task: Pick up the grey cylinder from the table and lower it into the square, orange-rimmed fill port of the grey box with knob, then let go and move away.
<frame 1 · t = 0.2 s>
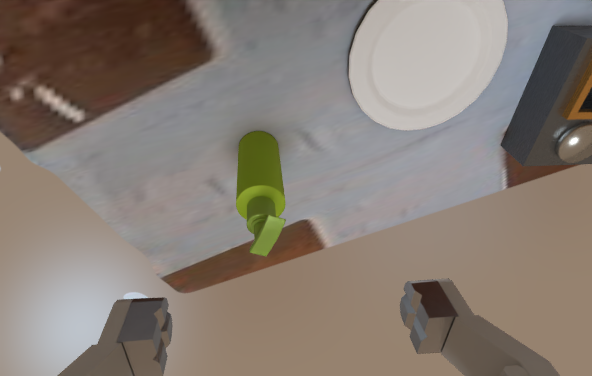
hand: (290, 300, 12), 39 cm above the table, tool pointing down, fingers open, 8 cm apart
plate: (422, 55, 48), on the table
grey box with knob: (564, 91, 53), on the table
soap dispenser: (259, 145, 53), on the table
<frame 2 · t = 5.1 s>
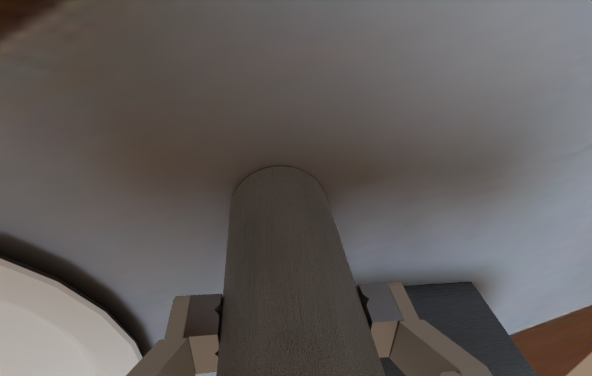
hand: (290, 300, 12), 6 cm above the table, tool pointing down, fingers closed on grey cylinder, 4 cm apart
grey cylinder: (278, 204, 17), on the table, touching gripper
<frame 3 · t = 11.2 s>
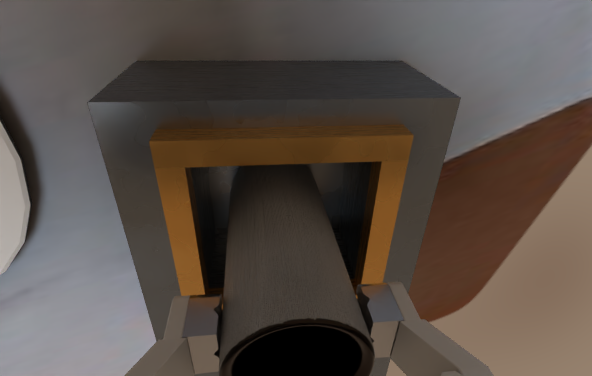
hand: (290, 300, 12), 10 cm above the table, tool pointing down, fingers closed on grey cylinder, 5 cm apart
grey box with knob: (275, 211, 22), on the table
grey cylinder: (273, 189, 19), point 2 cm above the table, touching grey box with knob, gripper
when the fingers open (9 cm above the table, at t = 12.1 s): grey cylinder stays where it is, resting on grey box with knob.
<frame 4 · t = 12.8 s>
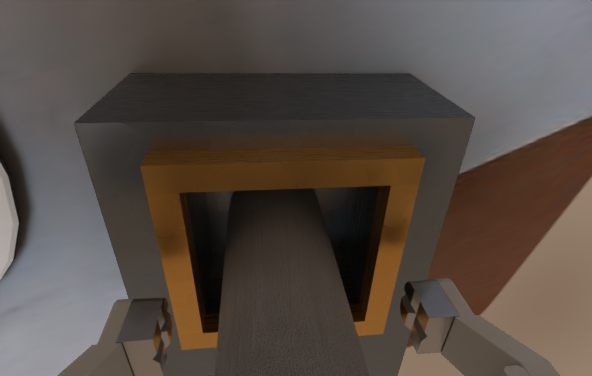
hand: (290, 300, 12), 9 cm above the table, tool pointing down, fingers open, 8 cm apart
grey box with knob: (275, 227, 21), on the table
grey cylinder: (274, 206, 18), point 2 cm above the table, touching grey box with knob
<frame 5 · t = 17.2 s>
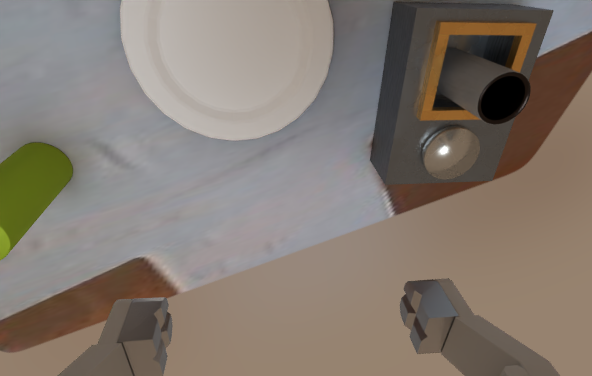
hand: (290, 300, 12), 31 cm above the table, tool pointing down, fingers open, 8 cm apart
plate: (232, 41, 37), on the table
grey box with knob: (434, 89, 42), on the table
soap dispenser: (46, 161, 41), on the table
grey cylinder: (445, 69, 39), point 2 cm above the table, touching grey box with knob
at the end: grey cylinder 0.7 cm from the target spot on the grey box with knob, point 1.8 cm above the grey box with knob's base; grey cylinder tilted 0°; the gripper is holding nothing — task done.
